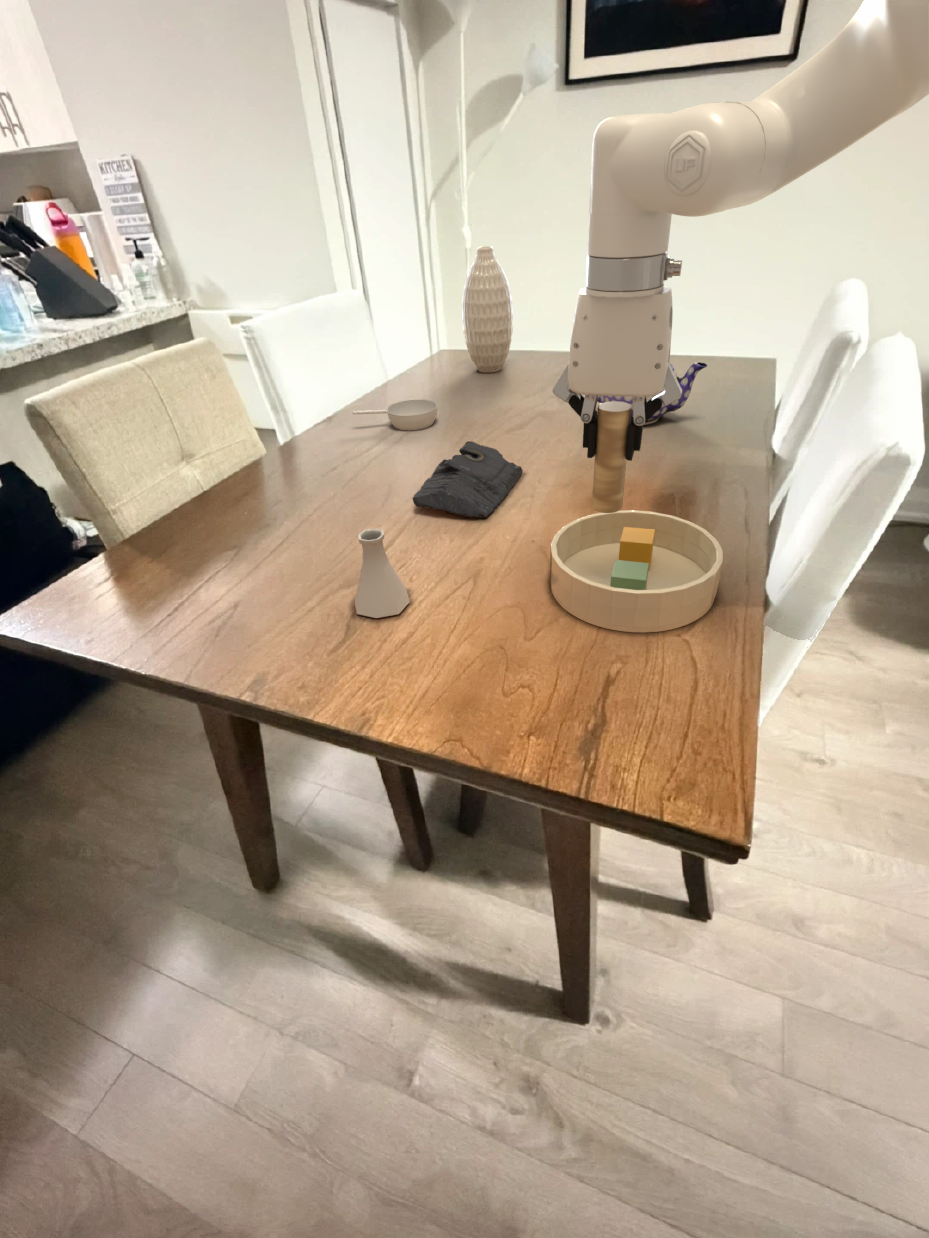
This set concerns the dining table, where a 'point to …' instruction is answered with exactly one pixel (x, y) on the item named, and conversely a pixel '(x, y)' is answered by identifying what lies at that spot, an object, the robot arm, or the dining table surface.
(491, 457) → the dark slate chunk
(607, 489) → the beige marbled cylinder
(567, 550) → the bowl
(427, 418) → the small pan
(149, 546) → the dining table surface
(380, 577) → the flask
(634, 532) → the mustard block
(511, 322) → the vase
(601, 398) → the teapot
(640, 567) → the sage block
